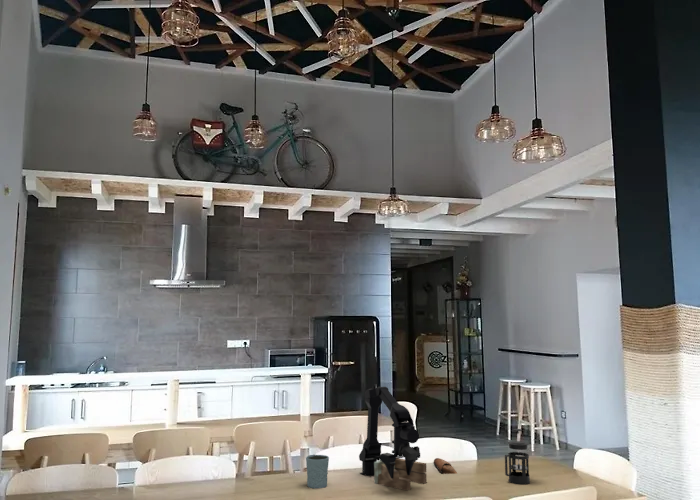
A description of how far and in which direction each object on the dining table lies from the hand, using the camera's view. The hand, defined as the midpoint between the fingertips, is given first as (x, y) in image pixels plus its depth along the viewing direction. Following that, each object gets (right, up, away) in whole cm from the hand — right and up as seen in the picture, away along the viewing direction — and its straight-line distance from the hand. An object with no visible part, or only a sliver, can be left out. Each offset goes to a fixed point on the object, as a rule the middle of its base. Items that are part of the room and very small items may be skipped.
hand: (400, 476), depth 238 cm
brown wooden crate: (+1, -7, +10) cm, 13 cm away
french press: (+54, -8, +13) cm, 57 cm away
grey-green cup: (-36, -6, +6) cm, 37 cm away
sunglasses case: (+25, -11, +35) cm, 45 cm away
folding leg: (-4, -1, +3) cm, 6 cm away
